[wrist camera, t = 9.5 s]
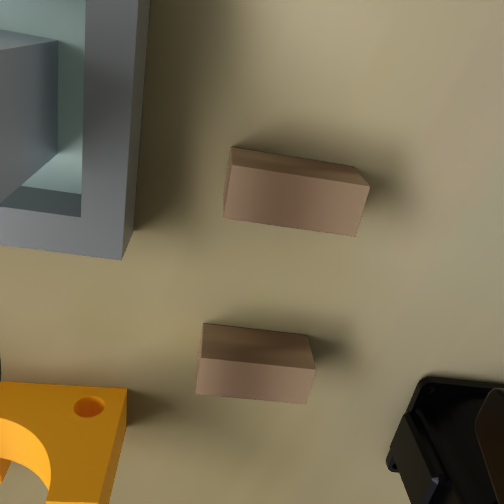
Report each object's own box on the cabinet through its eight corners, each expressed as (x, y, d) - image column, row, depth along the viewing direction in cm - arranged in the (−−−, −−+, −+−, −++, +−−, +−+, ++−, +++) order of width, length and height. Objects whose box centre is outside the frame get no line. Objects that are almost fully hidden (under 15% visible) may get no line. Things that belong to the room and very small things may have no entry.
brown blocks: (353, 166, 20) (370, 186, 17) (298, 367, 24) (306, 404, 22) (231, 146, 19) (232, 165, 17) (197, 357, 23) (195, 394, 21)
